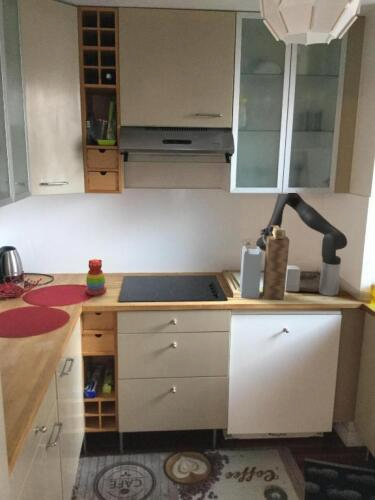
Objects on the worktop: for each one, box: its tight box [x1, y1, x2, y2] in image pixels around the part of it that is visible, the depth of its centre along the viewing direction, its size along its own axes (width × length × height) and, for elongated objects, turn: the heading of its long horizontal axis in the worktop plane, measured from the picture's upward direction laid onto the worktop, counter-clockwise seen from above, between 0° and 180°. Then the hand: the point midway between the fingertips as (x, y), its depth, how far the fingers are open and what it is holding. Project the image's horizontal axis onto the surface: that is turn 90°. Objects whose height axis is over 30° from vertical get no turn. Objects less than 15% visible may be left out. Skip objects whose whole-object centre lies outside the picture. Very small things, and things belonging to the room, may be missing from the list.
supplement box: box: [285, 264, 302, 292], centre depth 236 cm, size 7×7×13 cm
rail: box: [272, 226, 286, 239], centre depth 219 cm, size 4×15×4 cm, turn 179°
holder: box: [239, 245, 263, 299], centre depth 225 cm, size 9×10×25 cm
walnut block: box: [261, 235, 290, 301], centre depth 220 cm, size 10×7×32 cm
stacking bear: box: [84, 258, 107, 296], centre depth 223 cm, size 11×10×18 cm
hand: (276, 228), depth 221 cm, fingers closed on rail, 3 cm apart
